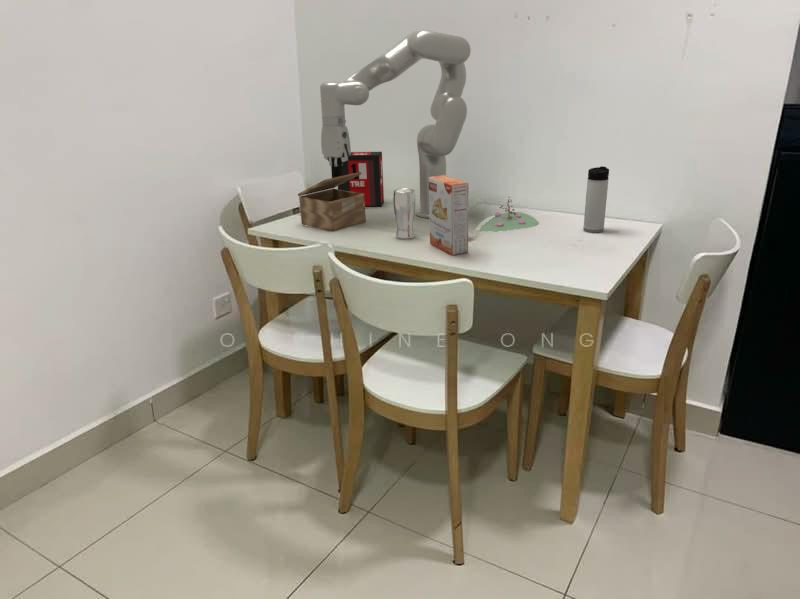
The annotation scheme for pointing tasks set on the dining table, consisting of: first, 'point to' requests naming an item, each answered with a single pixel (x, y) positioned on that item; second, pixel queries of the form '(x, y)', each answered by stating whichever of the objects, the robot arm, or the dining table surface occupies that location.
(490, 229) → the plant
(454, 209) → the cracker box
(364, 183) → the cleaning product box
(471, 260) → the dining table surface
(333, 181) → the lid
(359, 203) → the box
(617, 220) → the dining table surface
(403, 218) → the beer glass
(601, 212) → the travel mug
